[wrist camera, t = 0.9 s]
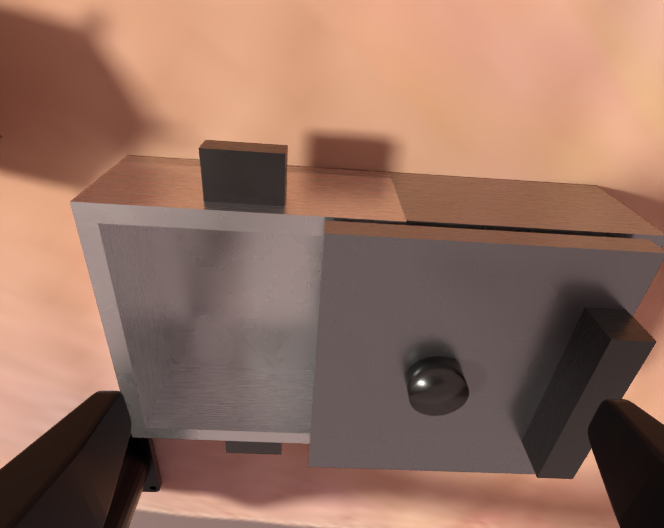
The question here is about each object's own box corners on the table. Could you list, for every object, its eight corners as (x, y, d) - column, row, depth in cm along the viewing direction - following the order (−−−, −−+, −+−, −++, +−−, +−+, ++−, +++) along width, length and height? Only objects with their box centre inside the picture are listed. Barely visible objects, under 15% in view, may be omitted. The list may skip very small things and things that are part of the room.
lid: (537, 456, 23) (561, 510, 20) (308, 448, 22) (306, 503, 20) (649, 239, 16) (705, 281, 14) (324, 220, 15) (324, 261, 13)
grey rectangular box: (508, 400, 29) (541, 474, 24) (169, 386, 28) (139, 461, 23) (613, 144, 20) (697, 187, 15) (119, 109, 19) (55, 145, 14)
